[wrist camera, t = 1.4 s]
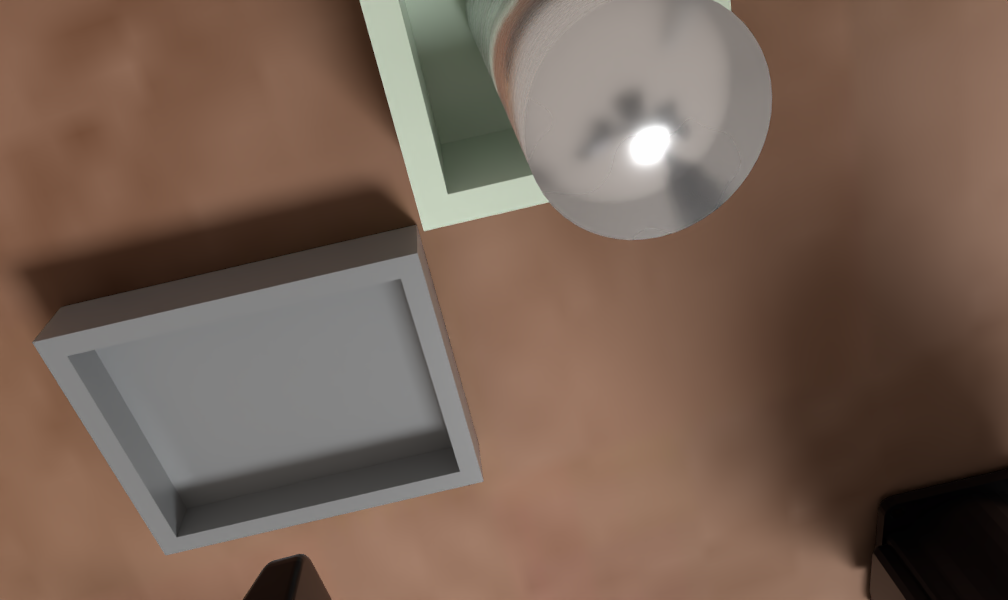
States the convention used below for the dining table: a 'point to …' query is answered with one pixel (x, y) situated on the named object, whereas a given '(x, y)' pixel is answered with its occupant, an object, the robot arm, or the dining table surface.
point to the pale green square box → (448, 113)
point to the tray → (271, 390)
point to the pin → (628, 105)
